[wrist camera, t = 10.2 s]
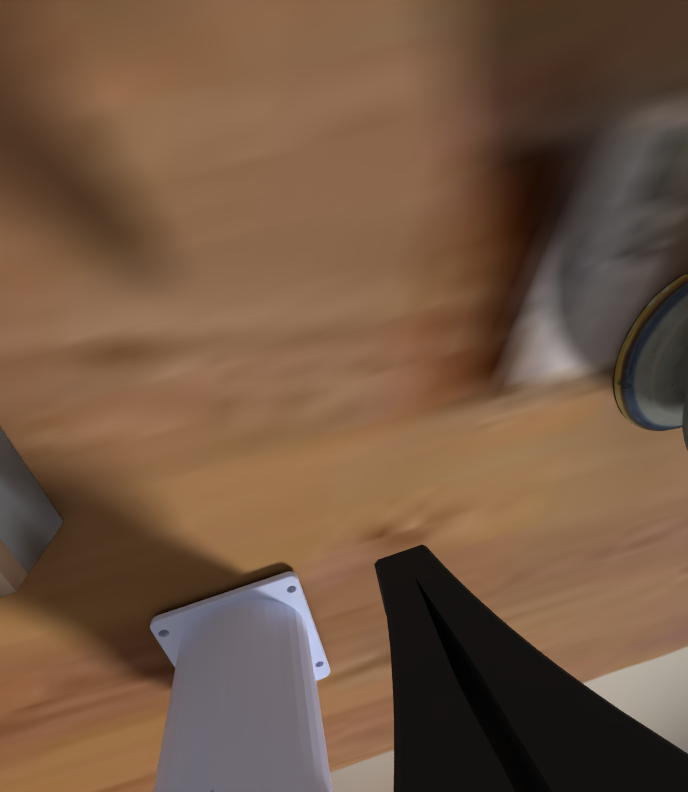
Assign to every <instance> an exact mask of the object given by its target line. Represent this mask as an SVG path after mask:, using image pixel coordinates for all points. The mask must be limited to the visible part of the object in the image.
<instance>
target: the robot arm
mask: <svg viewBox="0 0 688 792" xmlns="http://www.w3.org/2000/svg"><path fill="white" fill-rule="evenodd" d="M374 565H375V569H376V574H377V578H378V582H379V587H380V591H381V595H382V600H383V604H384V609H385V612H386V615H387V621H388V630H389V639H390V649H391V663H392V681H393V701H394V792H688V754H687V753H686V752H684V751H683V750H681V749H680V748H678V747H677V746H675V745H673V744H672V743H670V742H669V741H667V740H666V739H664V738H663V737H661V736H660V735H658V734H657V733H655V732H653V731H652V730H650V729H649V728H647V727H646V726H644V725H643V724H641V723H639V722H638V721H636V720H635V719H633V718H632V717H630V716H629V715H627V714H625V713H624V712H622V711H621V710H619V709H618V708H617V707H615V706H613V705H612V704H611V703H609V702H608V701H606V700H605V699H604V698H602V697H601V696H599V695H598V694H596V693H595V692H594V691H592V690H591V689H589V688H588V687H587V686H585V685H584V684H582V683H581V682H580V681H578V680H577V679H576V678H574V677H573V676H571V675H570V674H569V673H567V672H566V671H565V670H563V669H562V668H561V667H559V666H558V665H557V664H555V663H554V662H553V661H551V660H550V659H549V658H548V657H546V656H545V655H544V654H542V653H541V652H540V651H539V650H537V649H536V648H535V647H534V646H532V645H531V644H530V643H529V642H527V641H526V640H525V639H524V638H523V637H521V636H520V635H519V634H518V633H516V632H515V631H514V630H513V629H512V628H510V627H509V626H508V625H507V624H506V623H505V622H503V621H502V620H501V619H500V618H499V617H498V616H497V615H495V614H494V613H493V612H492V611H491V610H490V609H489V608H488V607H487V606H485V605H484V604H483V603H482V602H481V601H480V600H479V599H478V598H477V597H475V596H474V595H473V594H472V593H471V592H470V591H469V590H468V589H467V588H466V587H465V586H464V585H463V584H462V583H461V582H460V581H459V580H458V579H457V578H456V577H455V576H454V575H453V574H452V573H451V572H450V571H449V570H448V569H447V568H446V567H445V566H444V565H443V564H442V563H441V562H440V561H439V560H438V559H437V558H436V557H435V556H434V554H433V553H432V552H431V551H430V550H429V549H428V548H427V547H426V546H424V545H420V546H417V547H414V548H411V549H408V550H405V551H402V552H399V553H396V554H393V555H391V556H388V557H385V558H382V559H379V560H377V562H376V563H375V564H374ZM290 586H293V587H290ZM150 630H151V631H152V633H153V635H154V636H155V638H156V639H157V641H158V642H159V644H160V645H161V647H162V648H163V650H164V652H165V653H166V655H167V656H168V658H169V659H170V661H171V662H172V664H173V666H174V667H175V673H174V679H173V684H172V690H171V695H170V701H169V707H168V712H167V718H166V724H165V729H164V735H163V740H162V746H161V752H160V757H159V763H158V769H157V774H156V780H155V785H154V791H153V792H332V784H331V777H330V770H329V764H328V757H327V750H326V744H325V737H324V730H323V724H322V717H321V710H320V703H319V697H318V690H317V683H316V681H317V680H320V679H322V678H325V677H327V676H328V675H329V673H330V666H329V663H328V660H327V657H326V655H325V652H324V649H323V646H322V643H321V640H320V638H319V635H318V632H317V629H316V626H315V624H314V621H313V618H312V615H311V612H310V609H309V607H308V604H307V601H306V598H305V595H304V593H303V590H302V587H301V584H300V581H299V578H298V576H297V574H296V573H295V572H291V571H289V572H285V573H282V574H279V575H276V576H273V577H270V578H267V579H264V580H261V581H258V582H255V583H252V584H249V585H246V586H243V587H240V588H237V589H234V590H231V591H228V592H225V593H223V594H220V595H217V596H214V597H211V598H208V599H205V600H202V601H199V602H196V603H193V604H190V605H187V606H184V607H181V608H178V609H175V610H172V611H169V612H166V613H163V614H160V615H158V616H156V617H154V618H153V619H152V621H151V625H150Z"/></svg>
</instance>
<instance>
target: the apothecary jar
mask: <svg viewBox="0 0 688 792" xmlns="http://www.w3.org/2000/svg"><path fill="white" fill-rule="evenodd" d="M614 389H615V396H616V400H617V403H618V406H619V408H620V410H621V412H622V413H623V415H624V416H625V417H626V418H627V419H628V420H629V421H630V422H631V423H633V424H634V425H636V426H638V427H640V428H643V429H647V430H652V431H665V430H670V429H675V428H680V427H683V435H684V441H685V444H686V447H687V450H688V274H685V275H683V276H681V277H679V278H678V279H676V280H675V281H673V282H672V283H671V284H669V285H668V286H667V287H665V288H664V289H663V290H662V291H661V292H660V293H658V294H657V295H656V296H655V297H654V298H653V299H652V300H651V301H650V302H649V303H648V305H647V306H646V307H645V309H644V310H643V311H642V313H641V314H640V315H639V317H638V318H637V319H636V321H635V323H634V324H633V326H632V328H631V329H630V331H629V333H628V335H627V337H626V339H625V341H624V343H623V345H622V348H621V350H620V353H619V356H618V359H617V364H616V369H615V377H614Z"/></svg>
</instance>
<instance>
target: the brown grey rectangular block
mask: <svg viewBox="0 0 688 792" xmlns="http://www.w3.org/2000/svg"><path fill="white" fill-rule="evenodd" d="M63 522H64V521H63V520H62V518H61V517H60V515H59V514H58V512H57V511H56V509H55V508H54V506H53V505H52V503H51V502H50V500H49V499H48V497H47V496H46V494H45V493H44V491H43V490H42V488H41V487H40V485H39V484H38V482H37V481H36V480H35V478H34V477H33V475H32V474H31V472H30V471H29V469H28V468H27V466H26V465H25V463H24V462H23V460H22V459H21V457H20V456H19V454H18V453H17V451H16V450H15V448H14V447H13V445H12V444H11V442H10V441H9V439H8V438H7V436H6V435H5V433H4V432H3V430H2V429H1V427H0V597H2V596H5V595H8V594H12V593H15V592H17V590H18V589H19V587H20V586H21V584H22V583H23V581H24V580H25V578H26V577H27V575H28V574H29V572H30V571H31V570H32V568H33V567H34V565H35V564H36V562H37V561H38V559H39V558H40V556H41V555H42V553H43V552H44V550H45V549H46V547H47V546H48V544H49V543H50V541H51V540H52V538H53V537H54V535H55V534H56V532H57V531H58V529H59V528H60V526H61V525H62V523H63Z"/></svg>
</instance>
